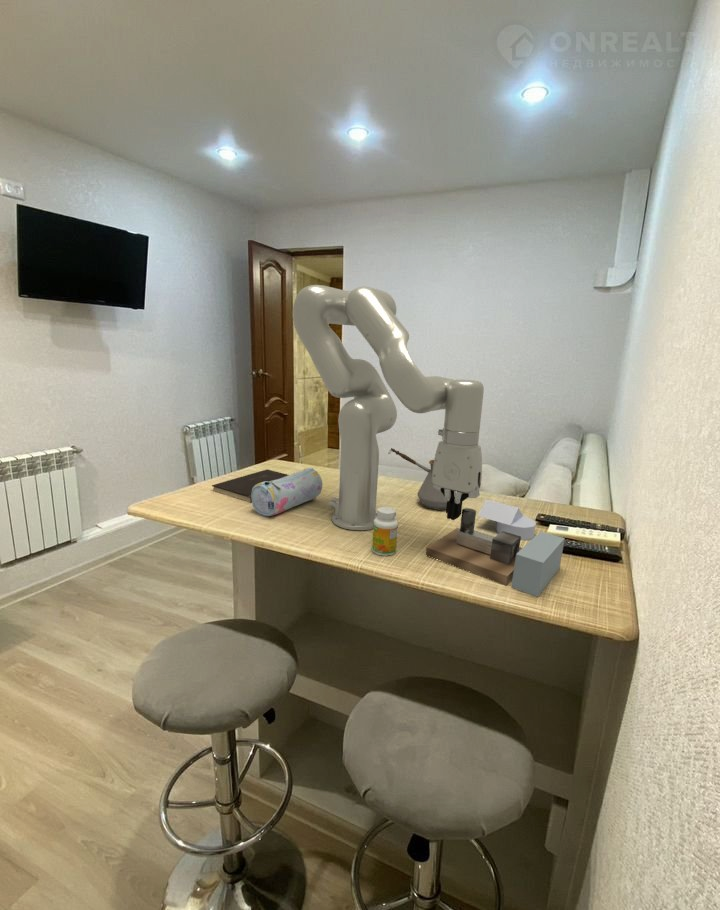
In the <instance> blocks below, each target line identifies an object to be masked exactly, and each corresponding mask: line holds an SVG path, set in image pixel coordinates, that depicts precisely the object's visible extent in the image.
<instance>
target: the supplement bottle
mask: <svg viewBox="0 0 720 910" xmlns="http://www.w3.org/2000/svg"><path fill="white" fill-rule="evenodd" d="M376 513H377V516H378V517H376V518H375V519H374V524H373V529H372V539H371V541H372V542H371V543H372V544H371V550H372V552H373V553H374V554H375V555H378V556H381V555H382V557H389V556H388V555H390V556H392V555H395V554H396V552H397V546H398V545H397V543H398V532H399V531H398V529H399V521H398V520H397V518H396V516H397V509H395V508H394V507H390V506H381V507H378V509H377V511H376Z"/></svg>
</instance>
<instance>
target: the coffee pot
mask: <svg viewBox="0 0 720 910" xmlns="http://www.w3.org/2000/svg"><path fill="white" fill-rule="evenodd" d="M391 453H394V454H396V455H398V456H399V457H401V459H404V460H406V461H407V462H409V463H411V464H413V465H416V466H417V467H418V468H420V469H422V470H424V471H425V472H427V475H426V477H425V479H424V481H423V482H422V483H421V486H420V488H419V490H418V491H417V497H418V500H419V501H420V503H422V504H423V506H424V507H426V508H428V509H432V510H440V511H441V510H446V506H447V501H446V500H445V496H444V495H443V494H442V492H441V491H439V490H437V489H435V488H434V487H433V483H432V470H433V464H434V459H432V460H431V459H430V460H429V462H428V463H429V464H430V465H429V466H430V469H429V468H428V467H426V466H424V465H422V464H421V463H419V462H417V461H416V460H414V459H413V458H411V457H409V456H408V455H406V454H404V453H402V452H400V451H399V450H395V449H394V448H392V447H391V448H390V449H389V451H388V454H387V455H390V454H391ZM456 493H457V491H455V497H456Z"/></svg>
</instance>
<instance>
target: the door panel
mask: <svg viewBox="0 0 720 910" xmlns="http://www.w3.org/2000/svg"><path fill="white" fill-rule="evenodd" d="M459 529H460V527H456V528H454V530H452V531H450V532H448V533H447V534H445V535H444V536H441V537H440V538H439V539H437V540H436V541H434V542H433V543H431V544H430V545H428V546H427V547H426V549H425V556H426V555H427V556H426V557H428V556H430V557H433V558H435V559H434V560H436V559H438V560H441V561H443V562H442V563H444V562H445V563H444V564H447V563H448V564H447V565H449V564H451V565H450V566H452V565H454V566H453V567H455V566H456V567H455V568H457V567H459V568H458V569H460V568H461V569H460V570H463V569H464V570H463V571H466V570H467V571H466V572H468V571H470V572H469V573H471V572H472V574H474V573H475V574H474V575H476V574H478V575H477V576H479V575H480V577H482V576H483V578H485V579H487V578H489V579H488V580H490V579H491V580H490V581H493V580H494V581H493V582H495V581H496V582H495V583H498V584H501V585H503V586H507V585H508V584H510V582H512V579H513V572H514V565H515V558H516V554H517V553H518V552H519V551H520V550H521V549H522V548H523V547H520V546H521V541H522V540H521V536H518V535H514V534H511V533H507V532H504V531H502V532H501V533H498V534H496V536H495V537H494V538H493V539H492V547H491V554H487V553H484V552H481V551H478V550H475V549H472V548H469V547H466V546H463V545H460V544H457V543H456V540H457V531H458V530H459ZM515 545H516V548H515V555H514V557H513V558H512V559H511V556H512V549H513V547H514V546H515ZM430 557H429V558H430ZM433 558H432V559H433ZM438 560H437V561H438ZM441 561H440V562H441Z"/></svg>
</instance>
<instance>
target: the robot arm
mask: <svg viewBox="0 0 720 910" xmlns="http://www.w3.org/2000/svg"><path fill="white" fill-rule="evenodd" d="M396 315H397V304H396V302H395V299H394V298H393V297H392V295H390V294H389V293H388V292H387V291H384V290H380V289H377V288H374V287H369V286H358V287H356V288H353V289H352V290H344V289H340V288H336V287H331V286H327V285H322V284H311V285H308V286H305V287H303V288H302V289H301V290H300V291H298V293H297V295H296V296H295V299H294V303H293V307H292V319H293V325H294V329H295V331H296V334H297V335H298V337H299V339H300V341H301V343H302V345H303V346H304V348H305V349H306V351H307V353H308V354H309V356H310V358H311V360H312V362H313V365H314V367H315V368H316V370H317V371H316V372H318V374H319V376H320V379H321V380H322V382H323V385H324V386H325V388H326V390H327V391H328V393H329V394H330V395H331V396H333V397H334V398H339V399H346V398H347V399H348V398H353V399H350V400H348V401H346V402H345V404H344V405H343V406H341V408H340V410H339V414H338V420H337V422H338V430H339V438H340V461H339V462H340V463H339V465H340V467H339V488H338V489H339V490H338V497H336V496H334V497H332V498H331V500H330V501H329V502H328V506H329V507H331V508H334V509H335V510H334V512H333V513H332V515H331V520H332V523H333V525H335V526H337V527H339V528H341V529H345V530H351V531H367V530H373V524H374V519H375V518H376V517H378V516H377V510H376V508H377V494H378V479H379V463H380V462H379V461H380V449H379V444H378V443H379V442H378V439H377V434H381V433H385V432H387V431H388V430H390V429H391V428H392V427H393V426H394V425H395V424H396V421H397V417H398V411H397V408H396V405H395V402H394V400H393V398H392V396H391V394H390V392H389V390H388V388H387V386H386V385H385V382H386V384H387V385H388V387H389V388H390V390H391V391H392V392H393V393H394V395H395V396H396V397H397V399H398V400H399V401H400V402H401V403H402V404H403V406H404V407H405V408H407V409H408V410H409V411H411V412H413V413H415V414H427V413H430V412H435V411H436V412H437V411H439V410H444V424H443V428H442V429H440V428H439V429H438V431H437V433H438V434H437V435H439V436H440V437H442V438H441V441H438V444H437V448H436V451H435V454H434V459H433V460H434V464H433V470H432V483H433V487H434V488H435V489H437V490H439V491H441V492H442V494H443V495H444V496H445V500H446V501H447V506H446V509H445V512H446V513H445V514H446V518H447V519H448V520H451V521H455V520H456V519H458V518H459V517H460V516H462V509H463V502H464V501H465V500H467V499H478V498H479V497H480V488H481V485H482V477H483V475H482V474H483V458H482V454H483V453H482V448H481V445H479V440H480V439H479V438H480V428H481V419H482V411H483V402H484V392H485V388H484V384H483V383H482V382H480V381H479V380H475V379H474V380H473V379H452V378H447V377H442V376H438V375H437V376H436V375H435V376H425V375H424V374H423V373H422V371H421V370H420V369H419V368H418V366H417V365H416V364H415V362H414V361H413V359H412V357H411V355H410V353H409V351H408V342H409V339H410V334H409V331H408V330H407V329H406V328H405V326H404V325H403V324H402V323H401V321H400V320H399V319H398V317H397V316H396ZM329 324H331V325H338V326H339V325H341V326H353V327H354V326H355V328H356V329H357V330H358V332H360V334H361V336H363V338H364V339H365V341H366V342H367V343H368V345H369V346H370V347H371V348H372V350H373V352H375V354H376V356H377V357H378V361H379V366H380V369H381V371H382V376H383V378H384V380H385V382H383V379H382V377H381V375H380V374H379V372H378V370H377V369H376V367H374V365H372V363H370V362H369V361H367V360H364V359H362V358H353V357H351V356H350V354H349V353H348V352H347V350H346V348H345V345H344V344H343V342H342V340H341V339H340V337H339V336H338V335H337V333H336V332H335V331H334V330H333V329H332V328H331V326H330V325H329ZM455 491H456V497H455Z"/></svg>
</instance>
